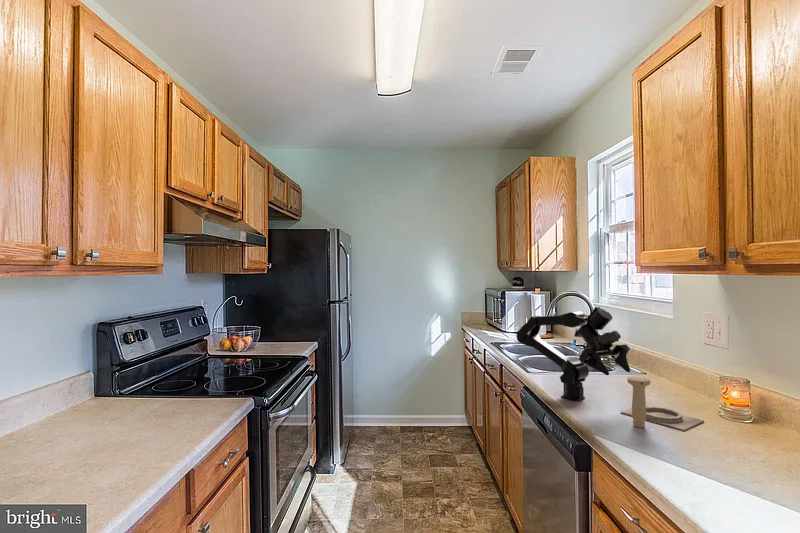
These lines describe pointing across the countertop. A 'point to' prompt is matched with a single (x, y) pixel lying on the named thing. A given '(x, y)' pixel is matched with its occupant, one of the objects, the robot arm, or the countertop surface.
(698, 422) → the socket board
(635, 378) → the handle
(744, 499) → the countertop surface
